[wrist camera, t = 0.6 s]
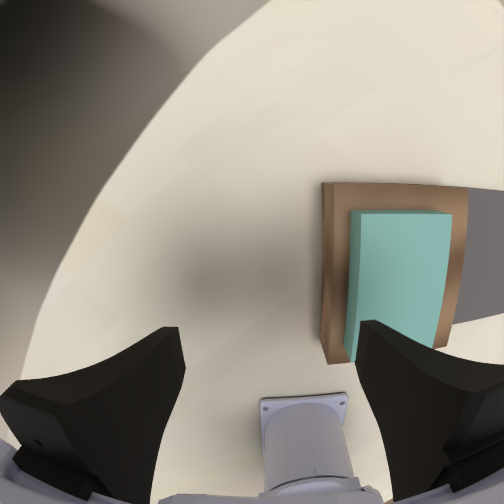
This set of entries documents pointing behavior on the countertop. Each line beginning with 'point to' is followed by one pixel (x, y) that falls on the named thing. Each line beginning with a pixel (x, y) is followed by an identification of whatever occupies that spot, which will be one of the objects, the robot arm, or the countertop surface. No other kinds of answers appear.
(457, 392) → the robot arm
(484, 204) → the mat
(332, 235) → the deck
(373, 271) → the block
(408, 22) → the countertop surface
